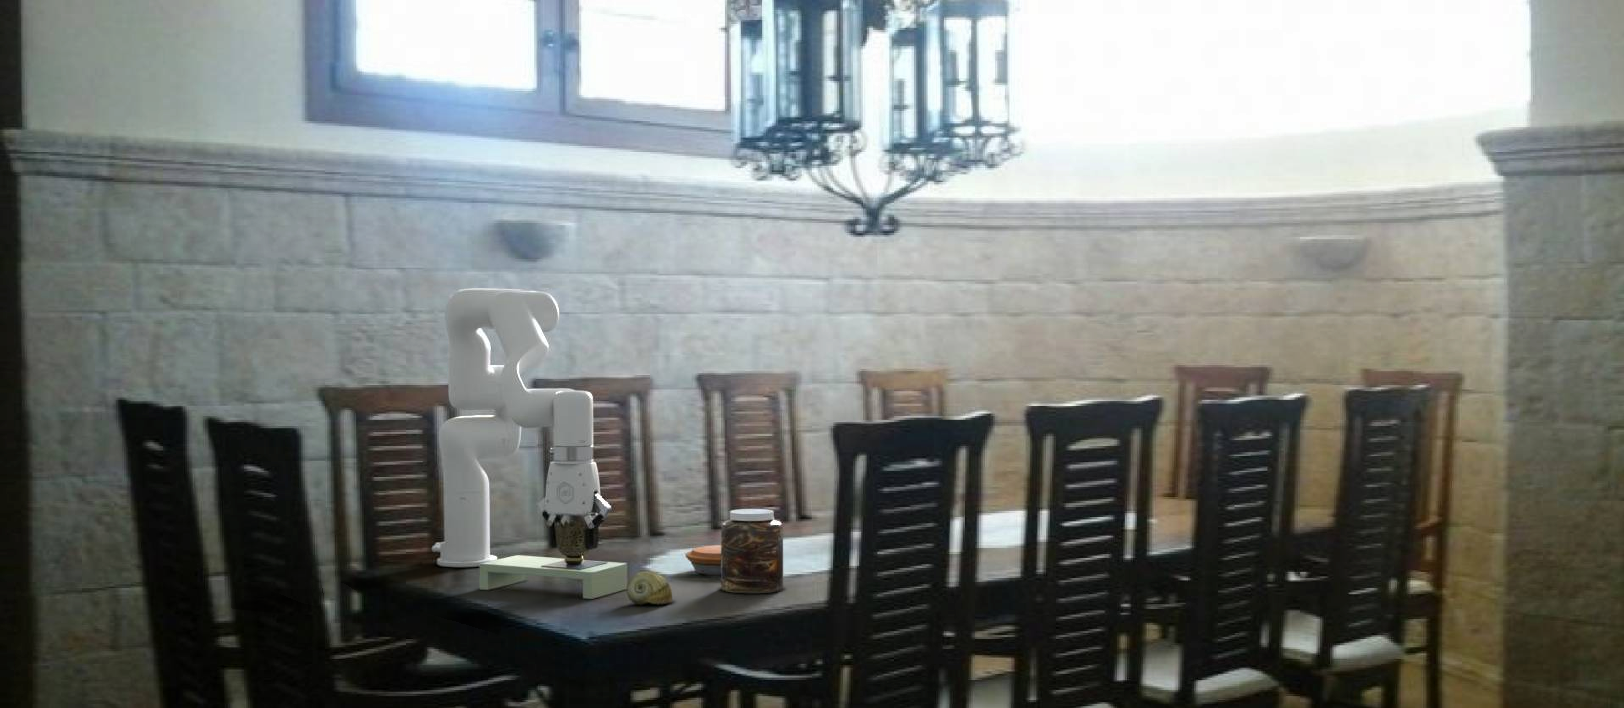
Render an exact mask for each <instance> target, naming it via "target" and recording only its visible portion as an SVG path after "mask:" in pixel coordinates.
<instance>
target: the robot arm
mask: <svg viewBox="0 0 1624 708" xmlns="http://www.w3.org/2000/svg"><path fill="white" fill-rule="evenodd" d="M444 319H445V320H444V321H445V326H446V330H447V335H448V340H449V360H448V363H449V364H448V386H447V387H448V390H447V391H448V392H447V393H448V400H449V403H450V405H451V406H452V408H454V409H456V410H460V411H489V410H491V411H493V414H494V415H491V414H490V415H465V416H464V415H463V416H462V415H461V416H456V417H452V418H449V419H447V420H445V422H443V424H442V425H441V426H440V428H439V431H438V446H439V450H440V454H441V461H442V462H441V463H442V472H443V520H444V521H443V523H444V525H443V529H444V530H443V531H444V533H443V535H444V537H443V538H444V541H441V542H436V543H434V545H432V547H431V551H432V552H433V553H440V556H439V557H438V558H437V559H436V565H438V566H439V567H444V568H445V567H446V568H477V567H479V564H480V563H484V562H489V561H493V560H498V556H496V555H494V554H491V539H490V538H491V527H490V526H491V525H490V524H491V522H490V521H491V519H490V518H491V517H490V515H491V512H490V505H491V504H490V501H491V499H490V480H489V477H488V475H487V473H486V472H485V470H484V468H483V467H482V466H481V464H480V462H479V461H485V460H487V461H489V460H500V459H508V458H511V457H514V456H515V455H516V454H517V452H518V450H519V448H520V444H521V438H522V437H521V436H522V428H524V429H536V428H553V447H551V448H550V449H549V452H548V453H549V456H553V461H550V463H549V465H548V471H547V476H546V484H545V496H544V497H543V498H542V499H541V500H540V501H539V502H537V505H536V506H537V508H538V510H539V511H540V513H541V516H542V517H543V518H544V520H545V521H546V524H547V526H549V540H550V547H551V548H556V547H558V546H557V541H556V533H555V523H557V522H558V524H559V522H560V521H561V522H562V520H563V518H564V516H575V517H576V516H578V517H581V516H583V518H584V521H585V524H586V523H587V525H588V528H586V530H585V535H586V549H589V551H590V550H595V549H598V546H599V528H600V527H602V524H603V523H604V522H605V520H606V519H607V517H608V515H609V514H610V512H611V511H612V506H611V505H610V504H609V503H608V502H607V501H606V500H604V498H602V496H601V485H600V484H601V483H600V475H599V470H598V466H597V462H595V461H594V398H593V394H592V393H591V392H590V391H587V390H575V389H572V388H568V387H566V388H564V387H561V388H558V387H557V388H550V387H549V388H548V387H547V388H526V386H525V385H524V382H523V381H522V378H521V376H520V375H522V374H524V373H526V372H529V371H530V370H532V369H534V368H536V367H537V366H539V365H540V364H542V362H544V361H545V360H546V358H547V357H548V355H549V353H550V346H549V343H548V341H547V339H546V337H545V335H544V333H548V332H549V333H550V332H552V331H553V330H554V329H555V328H556V327H557V326H558V324H559V320H560V309H559V306H558V303H557V301H556V300H555V298H554V297H553V296H552V295H551V294H550V293H548V292H546V291H537V290H531V289H530V290H529V289H519V288H518V289H517V288H516V289H515V288H486V287H485V288H479V287H478V288H464V289H459V290H457V291H454V292H453V293H452V294H451V295H450V296H449V297H448V300H447V302H446V305H445V309H444ZM483 330H494V331H495V334H496V336H497V338H498V340H499V344H500V345H501V348H502V349H503V352H504V354H505V356H506V358H507V360H506V362H505V363H504V365H501V364H499V365H491V351H492V350H491V349H492V348H491V343H490V340H489V339H488V336H487V335H486V334H485V332H484V331H483Z"/></svg>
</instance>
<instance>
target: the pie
mask: <svg viewBox="0 0 1624 708" xmlns="http://www.w3.org/2000/svg"><path fill="white" fill-rule="evenodd" d="M684 554H685V558H686V559H687V560H688V561H689V562H690V563H691V565H692V568H693V569H694V571H695V572H696V573H698V574H702V575H709V576H721V544H715V545H704V546H698V547H694V548H693V549H691V550H690V551H688V552H685V553H684Z"/></svg>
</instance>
